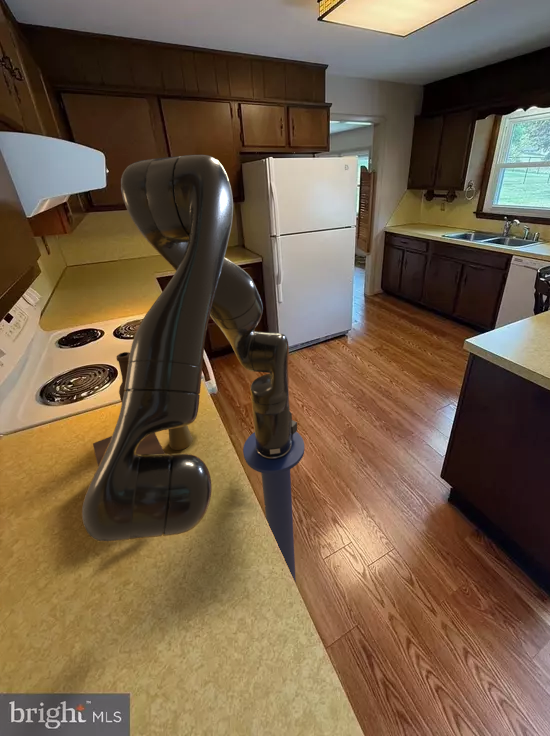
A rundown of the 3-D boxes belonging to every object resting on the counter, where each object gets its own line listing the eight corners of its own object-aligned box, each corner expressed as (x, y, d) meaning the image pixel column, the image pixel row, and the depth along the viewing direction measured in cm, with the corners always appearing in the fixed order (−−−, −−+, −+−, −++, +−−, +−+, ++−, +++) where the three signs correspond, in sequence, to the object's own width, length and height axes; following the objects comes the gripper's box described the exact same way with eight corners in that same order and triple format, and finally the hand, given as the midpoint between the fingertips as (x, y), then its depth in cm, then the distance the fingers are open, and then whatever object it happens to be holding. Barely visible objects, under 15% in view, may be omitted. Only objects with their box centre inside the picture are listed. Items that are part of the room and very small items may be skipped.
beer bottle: (140, 439, 91) (117, 364, 81) (123, 429, 95) (100, 357, 84) (164, 423, 97) (145, 351, 87) (147, 414, 101) (128, 345, 90)
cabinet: (174, 486, 77) (166, 456, 73) (114, 516, 70) (102, 485, 66) (157, 449, 87) (149, 421, 83) (104, 472, 81) (92, 443, 77)
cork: (192, 431, 93) (185, 400, 89) (193, 446, 88) (186, 413, 83) (169, 437, 91) (161, 405, 87) (169, 452, 86) (161, 419, 82)
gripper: (186, 445, 48) (175, 456, 63) (82, 492, 41) (96, 493, 56) (205, 495, 47) (189, 495, 61) (101, 553, 40) (110, 537, 54)
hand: (145, 494), depth 58 cm, fingers closed
